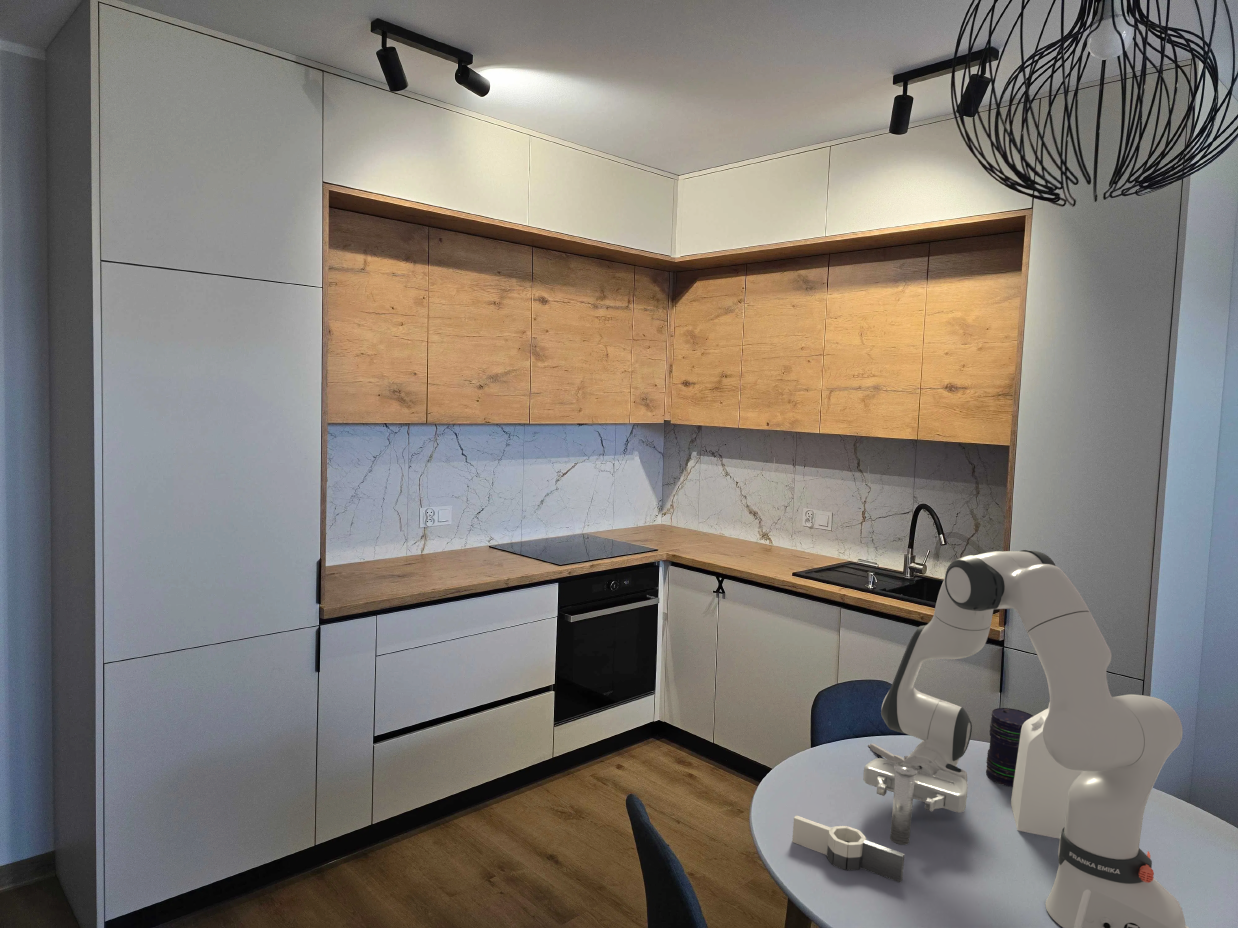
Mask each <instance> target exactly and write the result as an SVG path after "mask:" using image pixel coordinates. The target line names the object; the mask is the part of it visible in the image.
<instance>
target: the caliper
mask: <svg viewBox="0 0 1238 928" xmlns="http://www.w3.org/2000/svg"><path fill="white" fill-rule="evenodd" d="M867 747H869V749H870V750H871V751H872V752H874V753H875V754H877V755H879V756H881V757H882V758H883V759H888V760H891V761H894V762H898V763H903V762H904V761H905V759H906V758H907V757H908V756H909V755H905V756H904V757H903V756H901V755H898V754H897V755H896V754H893V753H892V752H890V751H888V750H887V749H885V748H883V747H881V746H879V745H877V744H875V743H870V744H868V745H867Z"/></svg>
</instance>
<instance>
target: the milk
mask: <svg viewBox="0 0 1238 928" xmlns="http://www.w3.org/2000/svg"><path fill="white" fill-rule="evenodd" d="M1047 707H1048V708H1046V709H1044V710H1042V711H1040V712H1039V713H1037V714H1035V715H1033V717H1031V718H1030V719H1028V720H1027V721H1025V722H1024V724H1023V725H1022V728H1021V735H1020V742H1019V749H1018V756H1017V763H1016V770H1015V777H1014V784H1013V787H1012V791H1011V792H1012V793H1011V798H1010V799H1011V800H1010V806H1011V811H1012V814H1013V818H1014V823H1015V826H1016V830H1017V831H1018V832H1023V833H1024V832H1025V833H1029V834H1034V835H1038V836H1043V837H1049V838H1053V839H1058V840H1060V835H1061V832H1062V829H1063V828H1064V827H1065V820H1066V810H1067V801H1068V792H1069V789H1070V787H1071V785H1072V783H1073V782H1074V780H1075V779H1076V778H1077V777H1078V776H1079V775H1080V774H1081V773H1082V771H1078V770H1071V769H1067V768H1065V767H1063V766H1061V765H1060V764H1059V763H1057V762H1056V761H1055V760H1054V759H1053V757H1052V756H1051V755H1050V753H1049V752H1048V750H1047V748H1046V745H1045V743H1044V739H1043V725H1044V722H1045V720H1046V718H1047V716H1048V713H1049V709H1050V701H1049V702H1048V706H1047Z"/></svg>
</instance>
